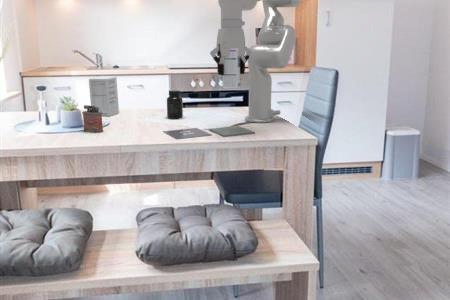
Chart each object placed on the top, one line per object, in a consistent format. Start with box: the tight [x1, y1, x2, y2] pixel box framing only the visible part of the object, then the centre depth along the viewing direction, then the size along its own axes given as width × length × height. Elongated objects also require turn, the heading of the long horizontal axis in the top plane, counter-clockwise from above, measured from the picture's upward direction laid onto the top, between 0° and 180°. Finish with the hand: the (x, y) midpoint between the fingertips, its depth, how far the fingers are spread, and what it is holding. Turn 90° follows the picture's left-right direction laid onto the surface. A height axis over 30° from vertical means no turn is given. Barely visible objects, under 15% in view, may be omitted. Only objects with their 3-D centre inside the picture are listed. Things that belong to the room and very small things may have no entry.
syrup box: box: [221, 48, 241, 90], centre depth 166 cm, size 6×6×14 cm
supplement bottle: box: [166, 89, 184, 120], centre depth 198 cm, size 7×7×12 cm
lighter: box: [82, 104, 104, 134], centre depth 171 cm, size 8×3×10 cm, turn 71°
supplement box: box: [88, 76, 120, 117], centre depth 206 cm, size 10×9×17 cm
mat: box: [208, 125, 256, 138], centre depth 171 cm, size 13×13×1 cm
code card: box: [162, 127, 213, 140], centre depth 168 cm, size 14×14×1 cm
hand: (231, 74), depth 166 cm, fingers closed on syrup box, 8 cm apart
